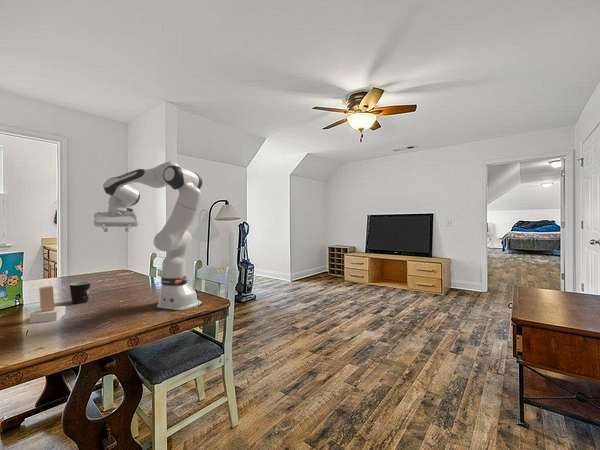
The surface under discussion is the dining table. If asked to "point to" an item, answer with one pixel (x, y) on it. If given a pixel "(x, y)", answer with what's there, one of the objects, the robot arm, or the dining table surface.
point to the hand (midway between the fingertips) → (116, 231)
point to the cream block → (47, 314)
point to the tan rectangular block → (46, 298)
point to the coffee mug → (80, 292)
